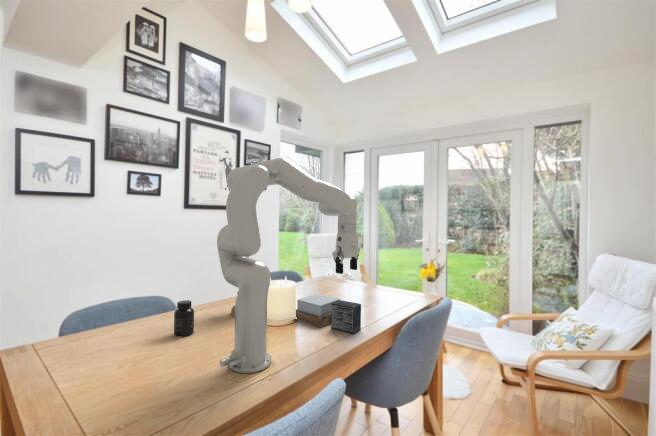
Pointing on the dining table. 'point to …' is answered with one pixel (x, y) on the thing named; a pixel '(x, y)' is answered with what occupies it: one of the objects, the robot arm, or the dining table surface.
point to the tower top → (316, 304)
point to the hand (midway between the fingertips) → (346, 271)
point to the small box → (346, 316)
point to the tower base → (314, 318)
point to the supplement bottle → (184, 319)
